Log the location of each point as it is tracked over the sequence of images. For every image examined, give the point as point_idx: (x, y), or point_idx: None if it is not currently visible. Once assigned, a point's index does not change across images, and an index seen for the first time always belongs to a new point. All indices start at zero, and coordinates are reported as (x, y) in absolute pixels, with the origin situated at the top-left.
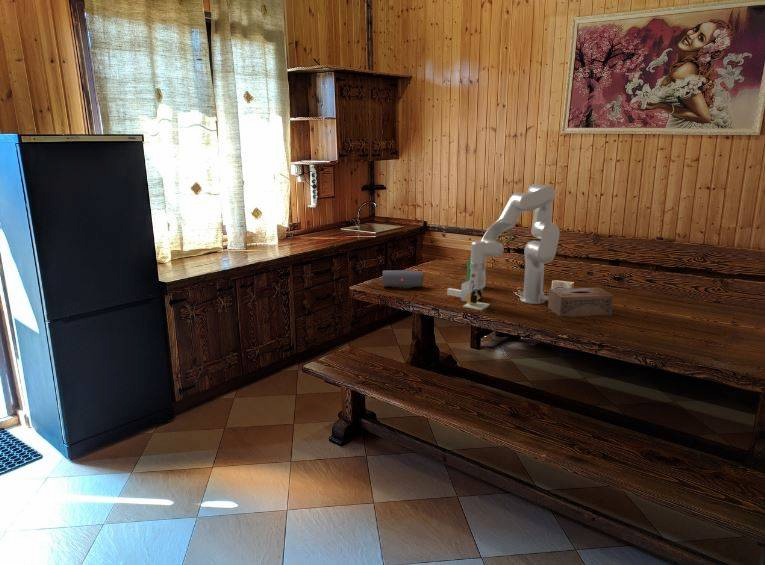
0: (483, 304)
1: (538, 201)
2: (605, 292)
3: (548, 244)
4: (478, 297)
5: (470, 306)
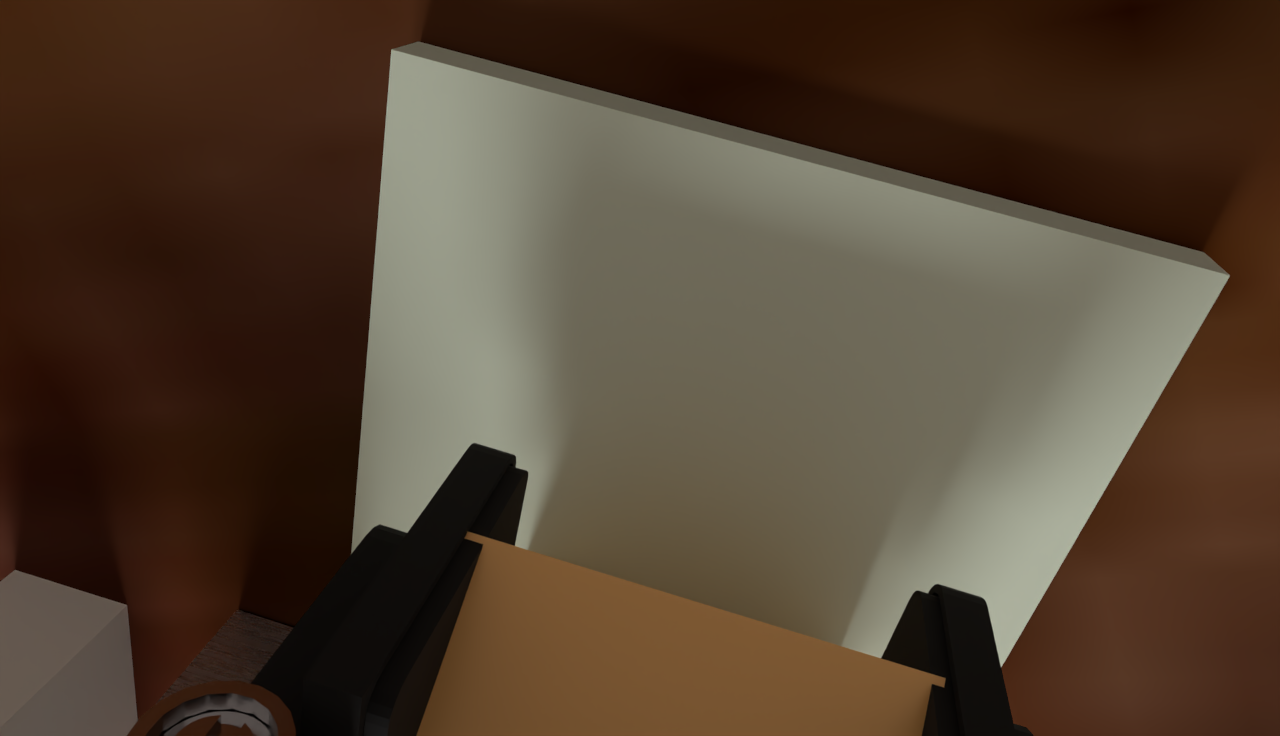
0: (560, 280)
1: None
2: None
3: None
4: (648, 654)
5: None
